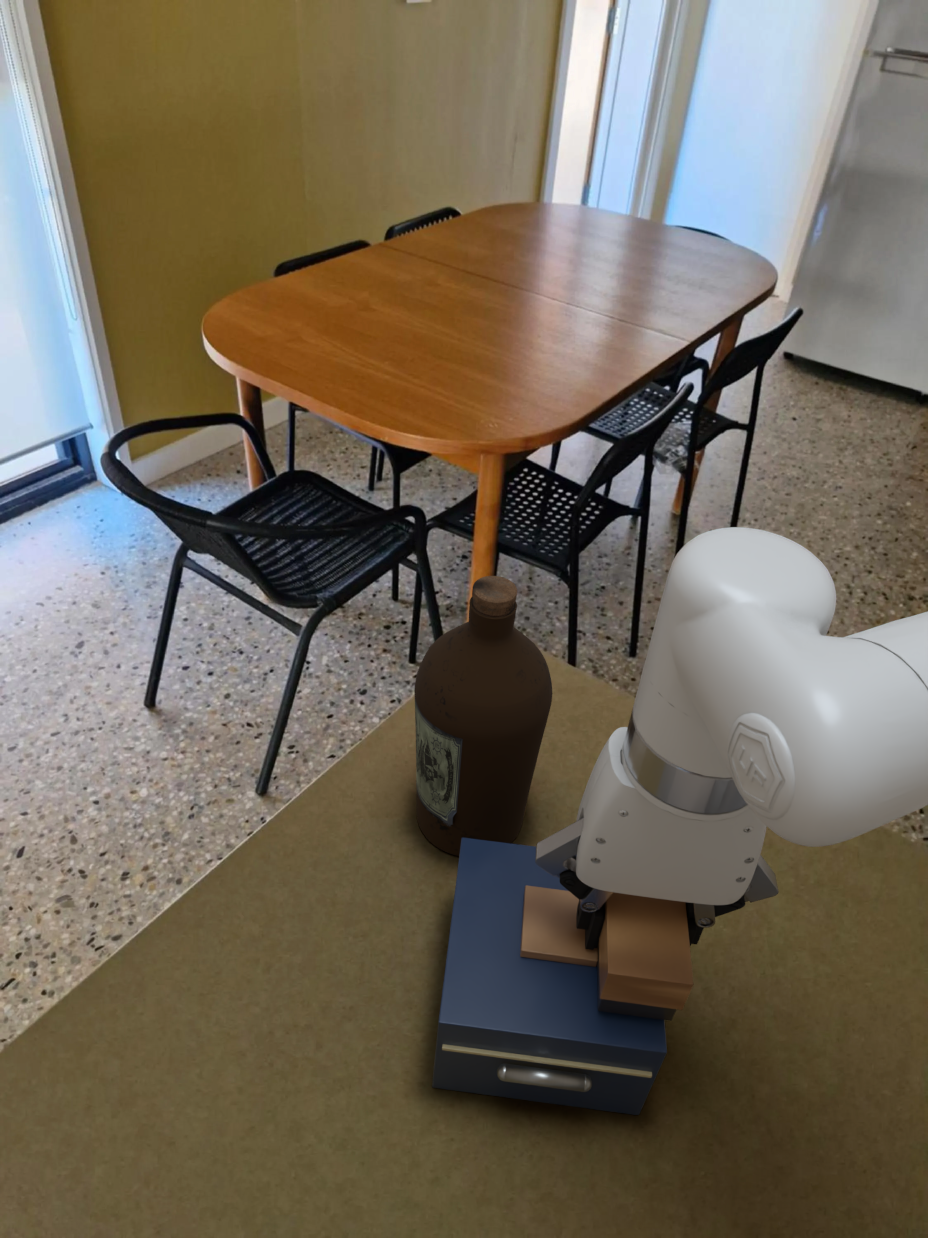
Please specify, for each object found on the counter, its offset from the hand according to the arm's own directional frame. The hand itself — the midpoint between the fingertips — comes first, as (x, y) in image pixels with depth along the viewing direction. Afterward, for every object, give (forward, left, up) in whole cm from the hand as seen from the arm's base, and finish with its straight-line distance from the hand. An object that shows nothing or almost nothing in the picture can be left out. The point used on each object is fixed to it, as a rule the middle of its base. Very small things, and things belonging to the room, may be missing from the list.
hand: (633, 934), depth 59 cm
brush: (0, 0, -1) cm, 1 cm away
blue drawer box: (0, +5, -10) cm, 11 cm away
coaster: (0, +5, -1) cm, 5 cm away
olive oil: (+16, +12, -10) cm, 23 cm away
